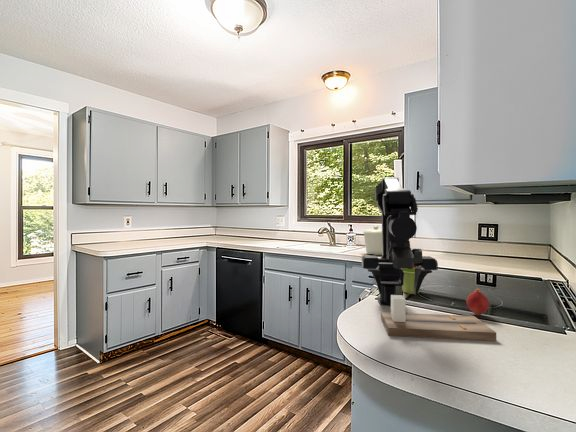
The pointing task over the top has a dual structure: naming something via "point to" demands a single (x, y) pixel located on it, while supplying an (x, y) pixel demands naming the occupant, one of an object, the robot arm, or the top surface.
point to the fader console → (438, 327)
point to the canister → (373, 240)
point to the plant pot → (408, 280)
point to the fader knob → (398, 308)
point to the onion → (477, 302)
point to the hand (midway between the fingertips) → (397, 294)
